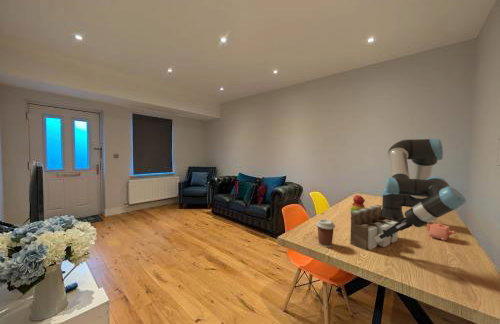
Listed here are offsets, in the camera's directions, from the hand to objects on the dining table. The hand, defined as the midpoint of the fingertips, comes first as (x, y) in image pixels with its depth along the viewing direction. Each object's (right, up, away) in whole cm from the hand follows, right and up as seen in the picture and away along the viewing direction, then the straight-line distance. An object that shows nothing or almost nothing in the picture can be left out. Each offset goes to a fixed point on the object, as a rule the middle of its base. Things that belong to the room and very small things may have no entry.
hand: (376, 239), depth 99 cm
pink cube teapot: (+45, -5, +14) cm, 47 cm away
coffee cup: (-23, -5, +6) cm, 24 cm away
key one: (+14, -4, +12) cm, 19 cm away
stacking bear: (+15, -3, +45) cm, 48 cm away
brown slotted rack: (+4, -4, +10) cm, 12 cm away
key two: (+6, -4, +7) cm, 10 cm away
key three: (-2, -5, +4) cm, 6 cm away
